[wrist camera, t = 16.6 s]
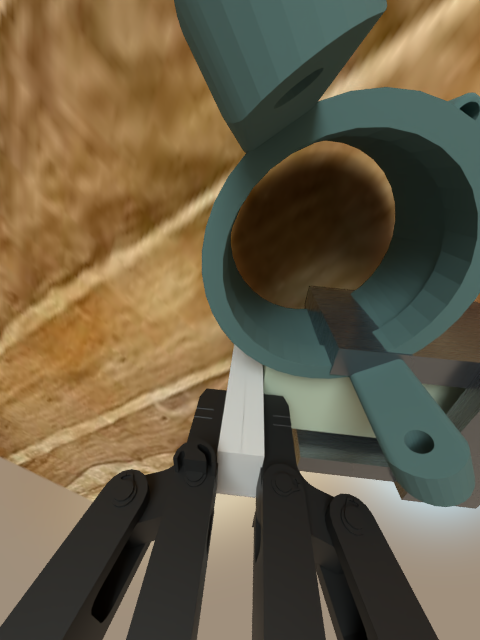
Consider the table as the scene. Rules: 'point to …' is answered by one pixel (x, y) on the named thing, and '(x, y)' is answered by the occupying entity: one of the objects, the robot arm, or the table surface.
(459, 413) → the endcap
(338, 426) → the block
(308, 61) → the bracket
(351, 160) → the table surface
